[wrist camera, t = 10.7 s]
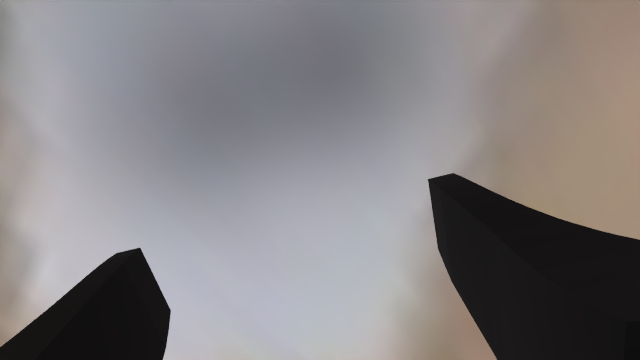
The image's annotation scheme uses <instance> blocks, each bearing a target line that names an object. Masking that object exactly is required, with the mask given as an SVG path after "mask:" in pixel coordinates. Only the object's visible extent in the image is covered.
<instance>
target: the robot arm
mask: <svg viewBox="0 0 640 360" xmlns="http://www.w3.org/2000/svg"><path fill="white" fill-rule="evenodd" d="M428 182H429V189H430V196H431V203H432V210H433V217H434V223H435V230H436V237H437V244H438V250H439V252H440V254H441V257H442V259H443V262H444V264H445V267H446V269H447V271H448V274H449V276H450V278H451V281H452V283H453V285H454V286H455V288H456V290H457V292H458V293H459V295H460V297H461V298H462V300H463V302H464V304H465V305H466V307H467V309H468V310H469V312H470V314H471V316H472V317H473V319H474V321H475V322H476V324H477V326H478V327H479V329H480V331H481V333H482V334H483V336H484V338H485V339H486V341H487V343H488V344H489V346H490V348H491V349H492V351H493V353H494V355H495V356H496V358H497V360H640V240H638V239H633V238H629V237H624V236H619V235H615V234H611V233H607V232H603V231H599V230H595V229H592V228H588V227H585V226H581V225H578V224H574V223H571V222H568V221H565V220H562V219H559V218H556V217H553V216H550V215H547V214H545V213H542V212H539V211H537V210H534V209H532V208H529V207H526V206H524V205H522V204H519V203H517V202H515V201H512V200H510V199H508V198H505V197H503V196H501V195H499V194H497V193H495V192H492V191H490V190H488V189H486V188H484V187H482V186H480V185H478V184H476V183H474V182H472V181H470V180H468V179H465V178H463V177H461V176H459V175H457V174H454V173H452V174H448V175H444V176H439V177H435V178H431V179H428ZM170 312H171V310H170V308H169V306H168V304H167V302H166V300H165V298H164V296H163V294H162V292H161V290H160V288H159V286H158V284H157V281H156V279H155V277H154V275H153V273H152V271H151V269H150V267H149V265H148V263H147V261H146V259H145V257H144V255H143V253H142V251H141V249H140V248H137V249H133V250H128V251H124V252H120V253H116V254H115V255H113V256H112V257H110V258H109V259H107V260H106V261H105V262H103V263H102V264H101V265H100V266H98V267H97V268H96V269H95V270H93V271H92V272H91V273H90V274H89V275H87V276H86V277H85V278H84V279H83V280H82V281H80V282H79V283H78V284H77V285H76V286H75V287H73V288H72V289H71V290H70V291H69V292H68V293H66V294H65V295H64V296H63V297H62V298H61V299H59V300H58V301H57V302H56V303H55V304H54V305H52V306H51V307H50V308H49V309H48V310H46V311H45V312H44V313H43V314H41V315H40V316H39V317H38V318H36V319H35V320H34V321H33V322H32V323H30V324H29V325H28V326H27V327H25V328H24V329H23V330H22V331H20V332H19V333H18V334H17V335H15V336H14V337H13V338H12V339H10V340H9V341H8V342H6V343H5V344H4V345H3V346H1V347H0V360H163V356H164V353H165V349H166V343H167V337H168V330H169V321H170Z"/></svg>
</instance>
